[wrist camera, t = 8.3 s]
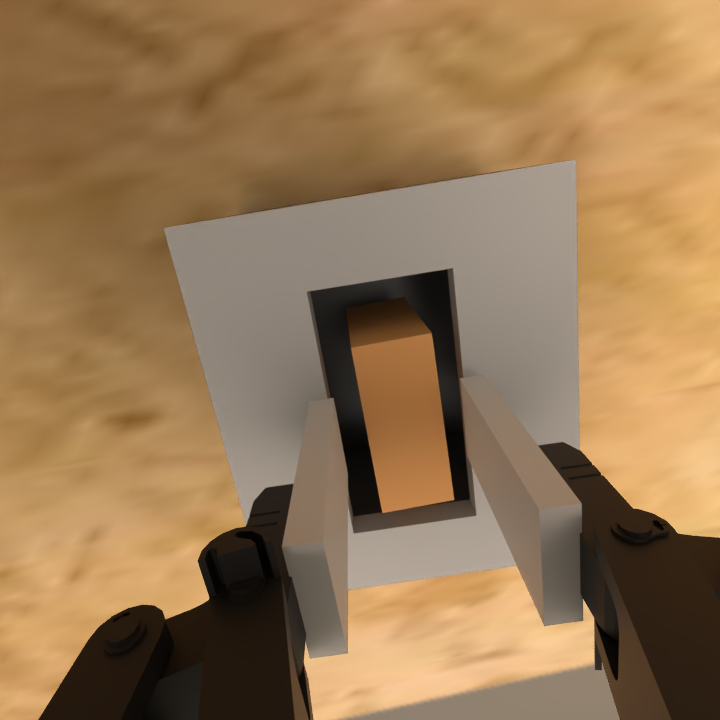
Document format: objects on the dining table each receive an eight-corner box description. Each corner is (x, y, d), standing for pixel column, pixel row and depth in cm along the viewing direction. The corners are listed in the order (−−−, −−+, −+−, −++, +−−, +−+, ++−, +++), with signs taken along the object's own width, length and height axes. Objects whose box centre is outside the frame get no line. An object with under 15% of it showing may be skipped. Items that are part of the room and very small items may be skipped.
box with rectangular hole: (237, 214, 24) (163, 227, 14) (483, 173, 23) (575, 159, 14) (294, 464, 28) (267, 601, 19) (502, 433, 28) (580, 556, 18)
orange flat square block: (345, 307, 21) (351, 348, 15) (404, 297, 21) (432, 333, 15) (369, 434, 22) (382, 513, 17) (423, 424, 22) (454, 499, 17)
